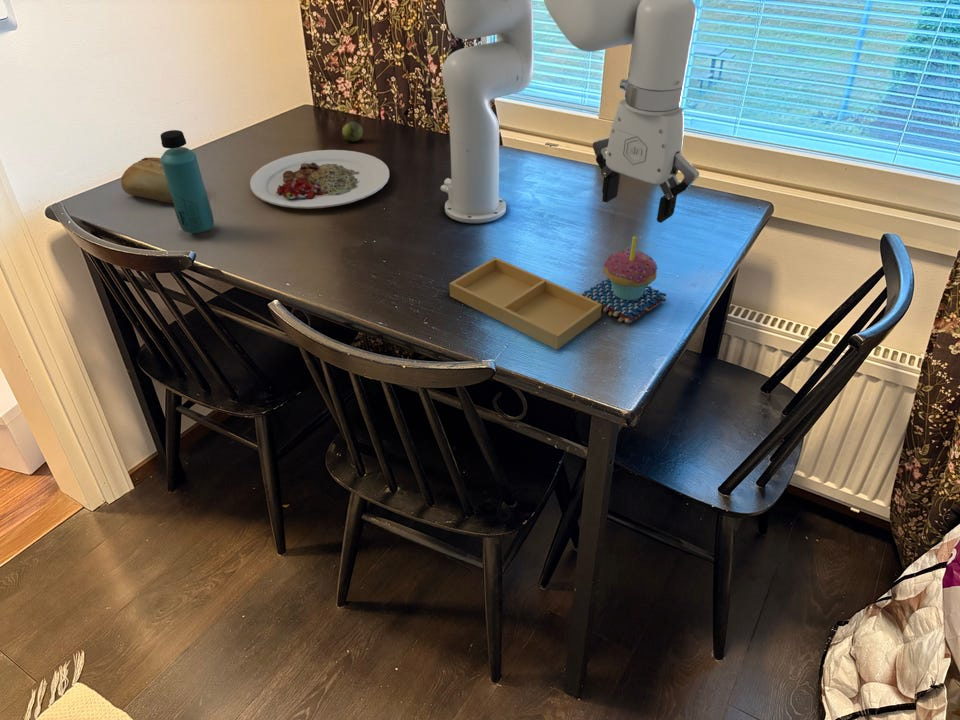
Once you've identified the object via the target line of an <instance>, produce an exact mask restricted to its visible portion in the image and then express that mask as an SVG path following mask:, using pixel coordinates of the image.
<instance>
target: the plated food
mask: <svg viewBox="0 0 960 720" xmlns="http://www.w3.org/2000/svg"><path fill="white" fill-rule="evenodd" d="M389 179H390V169H389V167H388V165H387V164H386V163H385V162H384V161H382V160H381V159H379V158H377V157H376V156H373V155H371V154H367V153H364V152H359V151H354V150H346V149H345V150H344V149H324V150H323V149H321V150H320V149H318V150H310V151H303V152H299V153H293V154H291V155H287V156H283V157H280V158H277V159H275V160H273V161H272V160H271V161H270V162H269V163H266V164H264V165H262V166H261V167H260V168H259V169H257V170H256V171H255V172H254V173H253V175H252V176H251V178H250V181H249V185H250V191H251V192H252V194H253V195H254V196H256V197H257V198H258V199H260V200H261V201H263V202H266V203H268V204H270V205H275V206H279V207H284V208H292V209H324V208H325V209H326V208H331V207H338V206H343V205H347V204H351V203H354V202H358V201H361V200H364V199H365V198H368V197H370V196H372V195H374V194H376V193H377V192H379V191H380V190H382V189H383V187H384V186H385V185H386V184H387V183H388V182H389Z"/></svg>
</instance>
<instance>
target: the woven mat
mask: <svg viewBox="0 0 960 720" xmlns="http://www.w3.org/2000/svg"><path fill="white" fill-rule="evenodd" d="M581 295H582V296H585V297H587V298H589V299H591V300H594V301H596V302H598V303H601V304H602V309H601V310H602V312H603V313H605V314H606V313H607V312H608V313H607V315H608V316H609V317H611V316H613V317H616V318H617V317H619V318H618V319H617V322H619V323H620V322H621V323H622V322H623V321H624V322H625V324H630V323H632V322H634V321H636V320H637V319H639V318H640V317H641V316H642V315H644V314H645V313H648V312H650V311H651V310H652V309H654V308H655V307H657V306H658V305H660V304H661V303H663V302H665V301H667V299H666V296H667V293H665V292H661V291H660V289H656V288H652V285H648V286H647V287H646V289H645V291H644V292H643V294H642V296H641V297H640V298H638V299H636V300H624V299H621V298H618V297H617V296H616V295H615V294H614V292H613V287H612V284H611V280H610V279H609V278H608V277H607V279H605V280H602V281H601V282H600V283H598V284H595V286H593V287H590V289H589V290H588V289H587V290H584V292H583V293H582V294H581Z"/></svg>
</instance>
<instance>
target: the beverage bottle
mask: <svg viewBox="0 0 960 720" xmlns="http://www.w3.org/2000/svg"><path fill="white" fill-rule="evenodd" d="M160 140H161V146H162V148H165V149H166V150H165V151H164V152H163V154H162V155H161V157H160V158H161V159H160V160H161V163H162V166H163V169H164V172H165V176H166V179H167V183H168V185H167V186H169V190H170V193H171V196H172V198H171V199H173V203H172V204H173V207H174V208H173V209H174V212H175V216H176V218H177V222H178V225H179V227H180V228H181V231H183V232H185V233H188V234H198V233H203V232H206V231H208V230H211V228H213V226H214V224H215V223H214V222H215V218H214V215H213V210H212V207H211V202H210V199H209V197H208V193H207V189H206V185H205V183H204V181H203V177H202V173H201V169H200V165H199V162H198V158H197V154H196V152H195V151H194V150H192V149H190V148H188V147H184V146H186V144H187V140H186V138H185V135H184V132H183V131H181V130H180V129H179V130H178V129H172V130H167V131H164V132H162V133H160Z"/></svg>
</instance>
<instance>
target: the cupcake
mask: <svg viewBox="0 0 960 720" xmlns="http://www.w3.org/2000/svg"><path fill="white" fill-rule="evenodd" d="M637 240H638V236H637V233H636V232H635V233H634V235H633V236H632V239H631V246H630V247H631V248H630V249H629V248H628V249H624V250H623V249H622V250H619V251H617V252H615V253H612V254H611V255H609V256H608V257H607V258H606V260H605V261H604V264H603V273H604V274H605V276H606V277H607V279H608V278H609V279H610V280H611V284H612V287H613V292H614V294H615V295H616V296H617V297H618V298H621V299H624V300H636V299H638V298H640V297H641V296H642V294H643V292H644V291H645V289H646V287H647V286H650V284H652V283H653V282H654V281H655V280H656V279H657V275H658V273H657V270H658V264H656V263H657V262H656V261H654V259H653V258H652V257H651V256H650V255H648V254H647V253H644V252H642V251H640V250H637V249H636V248H637Z"/></svg>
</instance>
